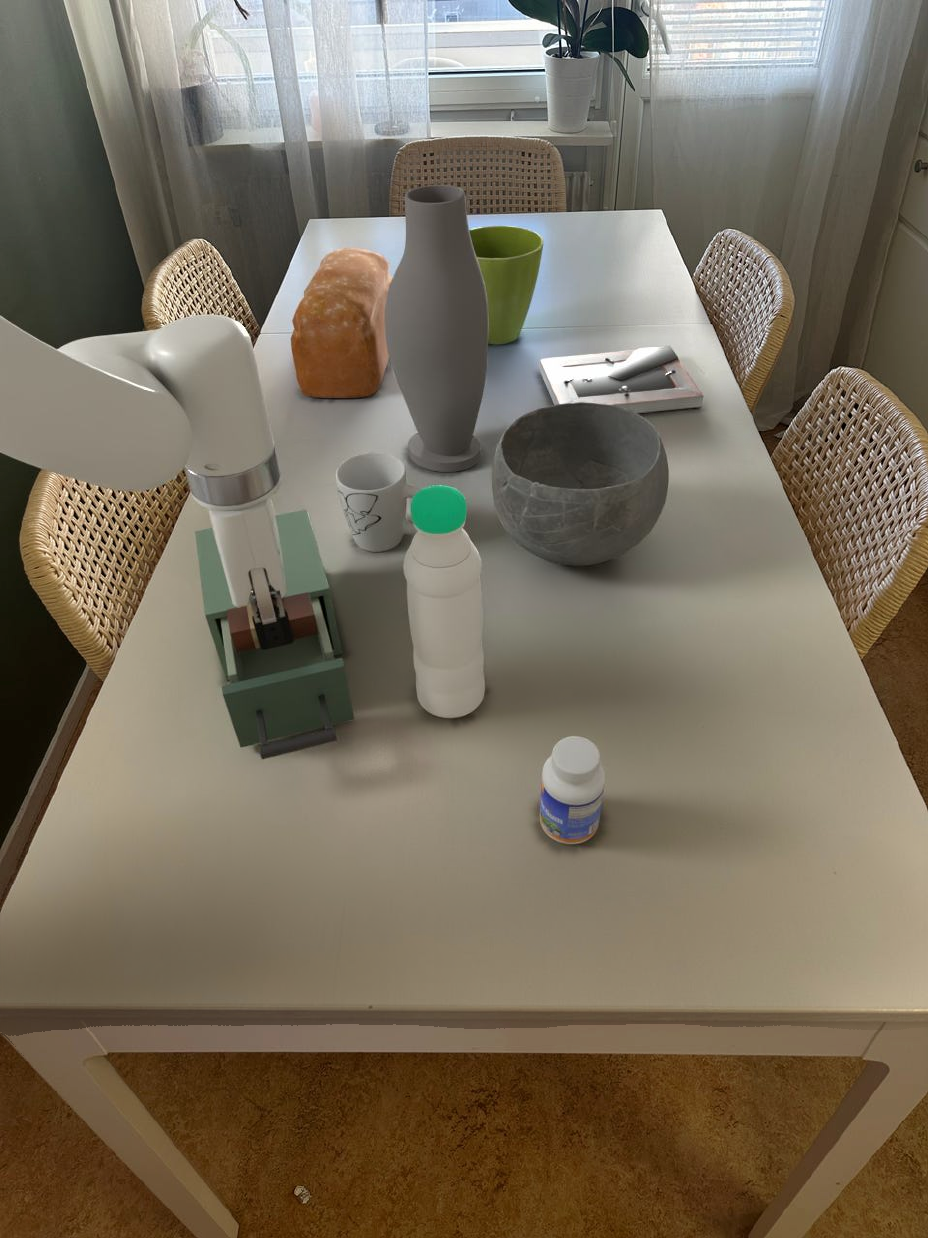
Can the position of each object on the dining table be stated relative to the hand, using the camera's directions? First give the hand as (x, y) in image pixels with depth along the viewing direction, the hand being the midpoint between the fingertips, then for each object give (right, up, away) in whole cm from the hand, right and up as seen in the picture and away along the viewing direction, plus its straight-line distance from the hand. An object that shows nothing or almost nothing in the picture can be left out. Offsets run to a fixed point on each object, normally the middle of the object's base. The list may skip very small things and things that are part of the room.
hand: (274, 628), depth 84 cm
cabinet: (-3, 0, +15) cm, 15 cm away
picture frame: (+42, +37, +52) cm, 76 cm away
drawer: (+1, -8, +4) cm, 9 cm away
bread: (-1, +44, +62) cm, 76 cm away
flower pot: (+24, +50, +67) cm, 87 cm away
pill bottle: (+28, -17, -6) cm, 34 cm away
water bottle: (+17, -7, +6) cm, 20 cm away
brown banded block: (0, 0, 0) cm, 0 cm away
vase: (+16, +25, +40) cm, 50 cm away
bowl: (+32, +10, +24) cm, 41 cm away
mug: (+9, +11, +26) cm, 29 cm away
